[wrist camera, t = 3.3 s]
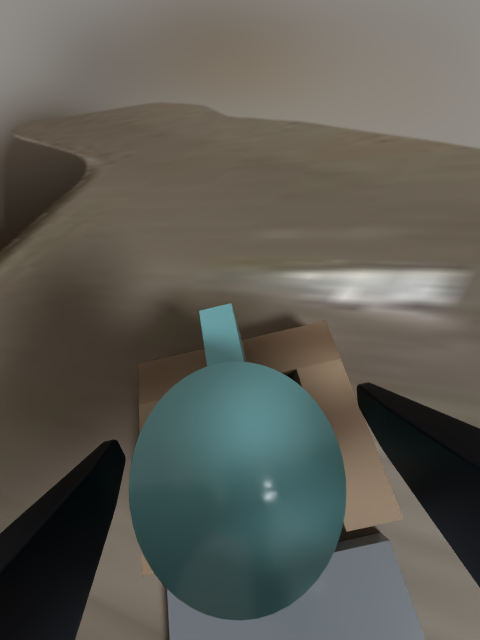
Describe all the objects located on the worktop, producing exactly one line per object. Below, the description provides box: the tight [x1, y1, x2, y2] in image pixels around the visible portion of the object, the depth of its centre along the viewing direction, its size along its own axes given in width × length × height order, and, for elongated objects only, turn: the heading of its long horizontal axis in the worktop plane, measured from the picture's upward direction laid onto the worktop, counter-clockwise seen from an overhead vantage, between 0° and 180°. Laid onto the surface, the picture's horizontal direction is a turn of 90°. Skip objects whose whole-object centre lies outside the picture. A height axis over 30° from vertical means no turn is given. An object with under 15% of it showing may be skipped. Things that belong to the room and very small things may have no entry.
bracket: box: [138, 321, 404, 576], centre depth 14 cm, size 10×12×2 cm
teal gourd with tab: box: [129, 303, 347, 621], centre depth 11 cm, size 8×5×10 cm, turn 11°
